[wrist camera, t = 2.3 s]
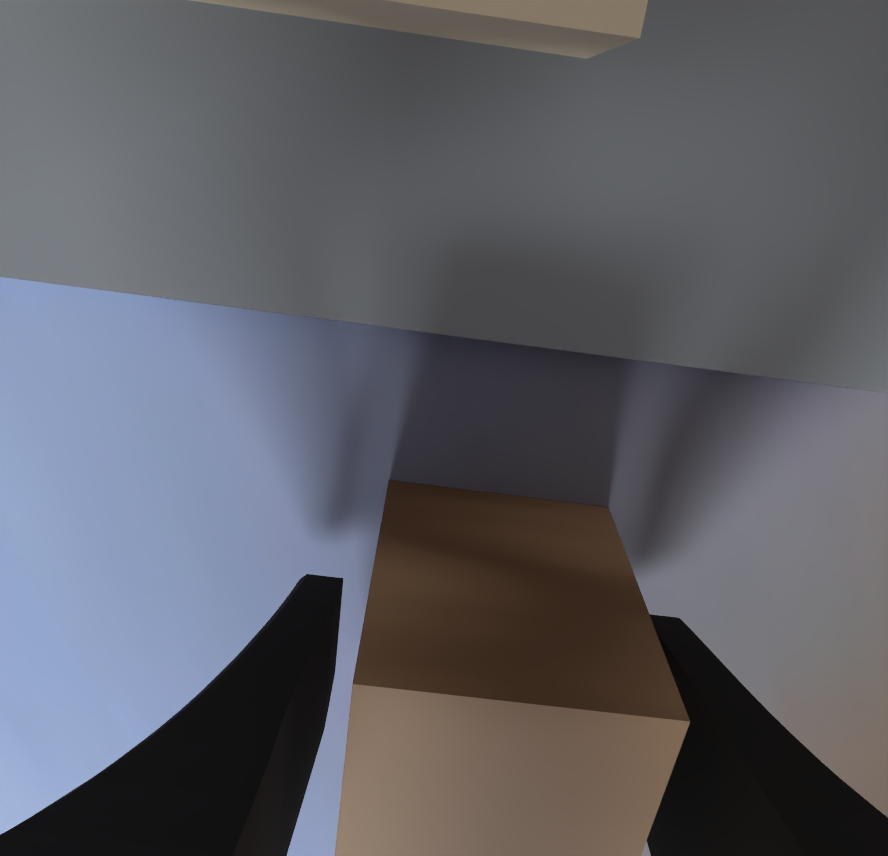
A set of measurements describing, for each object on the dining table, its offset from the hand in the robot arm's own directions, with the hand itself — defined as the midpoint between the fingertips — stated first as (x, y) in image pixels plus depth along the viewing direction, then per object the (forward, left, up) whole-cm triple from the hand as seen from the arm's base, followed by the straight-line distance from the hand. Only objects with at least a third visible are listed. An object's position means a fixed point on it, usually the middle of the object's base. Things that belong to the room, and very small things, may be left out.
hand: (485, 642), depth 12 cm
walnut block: (0, 0, -2) cm, 2 cm away
